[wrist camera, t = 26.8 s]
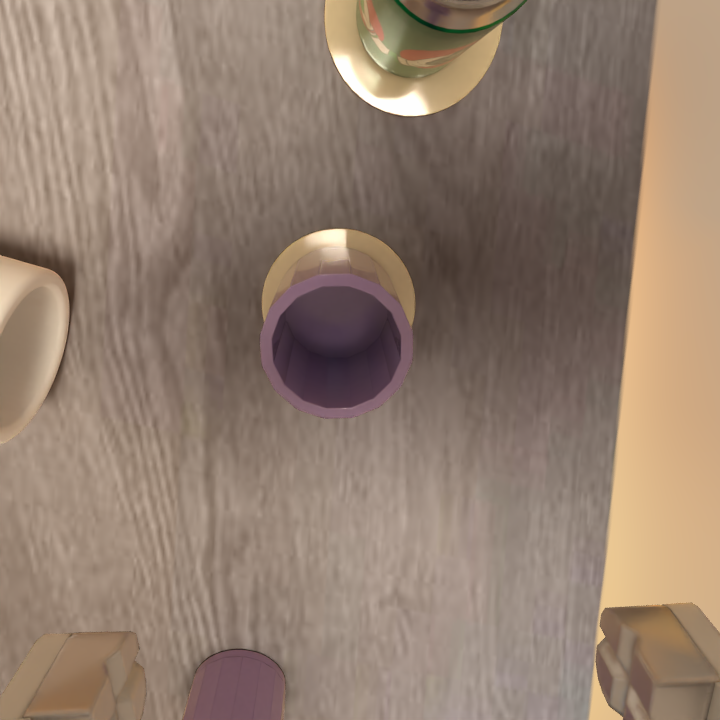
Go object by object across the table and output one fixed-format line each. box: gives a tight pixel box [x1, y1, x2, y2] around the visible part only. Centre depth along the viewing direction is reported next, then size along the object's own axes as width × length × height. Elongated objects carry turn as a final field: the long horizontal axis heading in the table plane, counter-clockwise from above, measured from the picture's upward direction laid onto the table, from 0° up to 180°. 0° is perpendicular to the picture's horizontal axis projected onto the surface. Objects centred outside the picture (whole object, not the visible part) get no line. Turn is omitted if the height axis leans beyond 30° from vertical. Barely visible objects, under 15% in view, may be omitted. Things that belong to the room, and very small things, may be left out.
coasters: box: [262, 0, 502, 326], centre depth 28 cm, size 12×21×1 cm, turn 2°
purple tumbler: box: [259, 246, 413, 419], centre depth 27 cm, size 6×6×7 cm
